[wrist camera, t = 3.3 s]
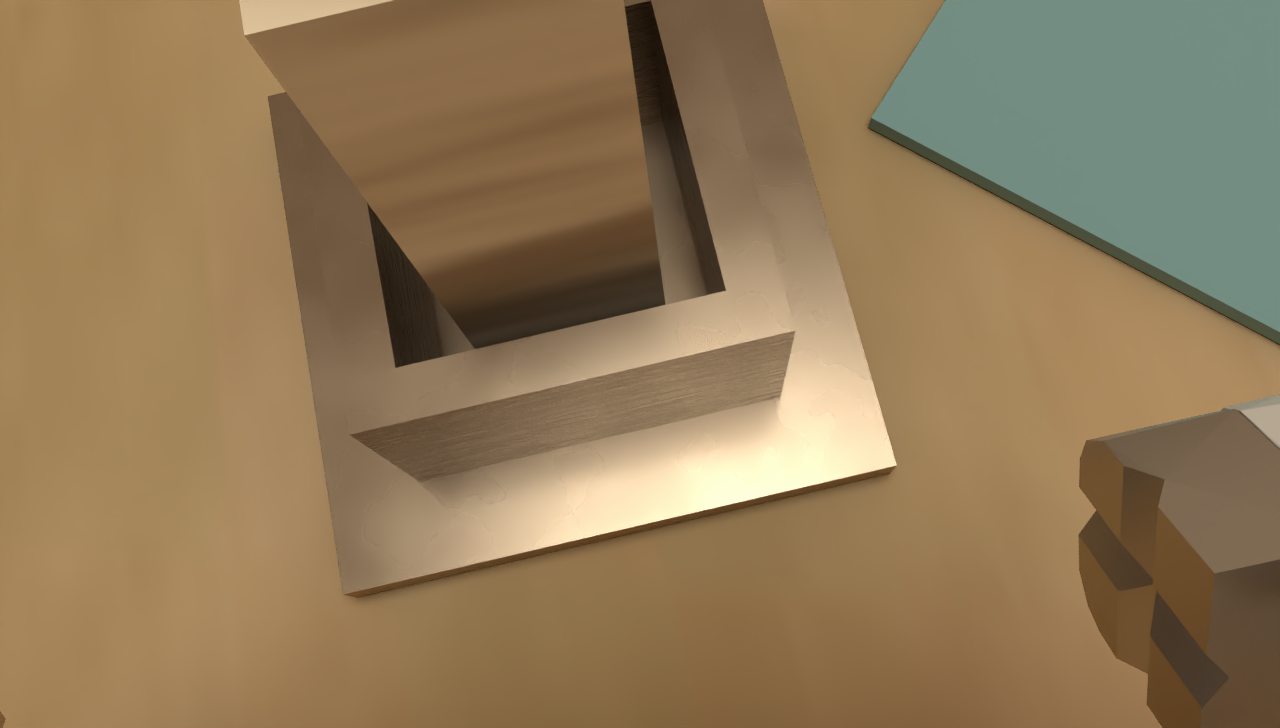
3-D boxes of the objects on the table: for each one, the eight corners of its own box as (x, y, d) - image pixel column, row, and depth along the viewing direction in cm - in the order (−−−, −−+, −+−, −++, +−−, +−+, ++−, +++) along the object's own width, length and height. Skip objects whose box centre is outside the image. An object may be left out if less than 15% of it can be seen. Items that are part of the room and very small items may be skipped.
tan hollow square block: (889, 473, 26) (939, 413, 20) (357, 597, 26) (252, 574, 20) (755, 5, 29) (765, -165, 23) (282, 115, 29) (173, -26, 23)
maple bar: (669, 332, 26) (616, -52, 12) (492, 373, 26) (244, 35, 12) (630, 169, 27) (542, -349, 13) (460, 209, 27) (199, -269, 13)
